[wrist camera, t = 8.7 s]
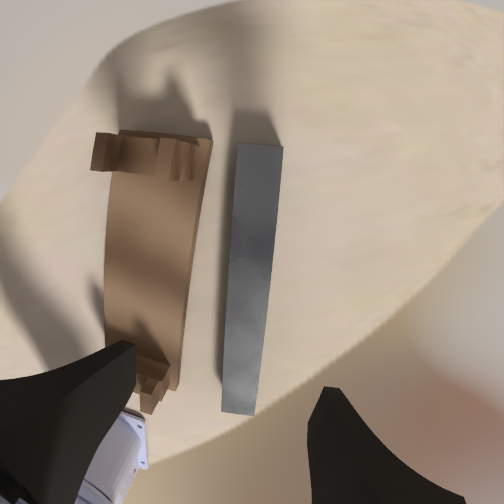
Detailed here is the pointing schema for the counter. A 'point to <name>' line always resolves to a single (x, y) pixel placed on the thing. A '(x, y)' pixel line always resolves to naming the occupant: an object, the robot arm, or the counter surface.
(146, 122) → the counter surface
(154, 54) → the counter surface
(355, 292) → the counter surface
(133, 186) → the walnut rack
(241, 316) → the graphite rail
